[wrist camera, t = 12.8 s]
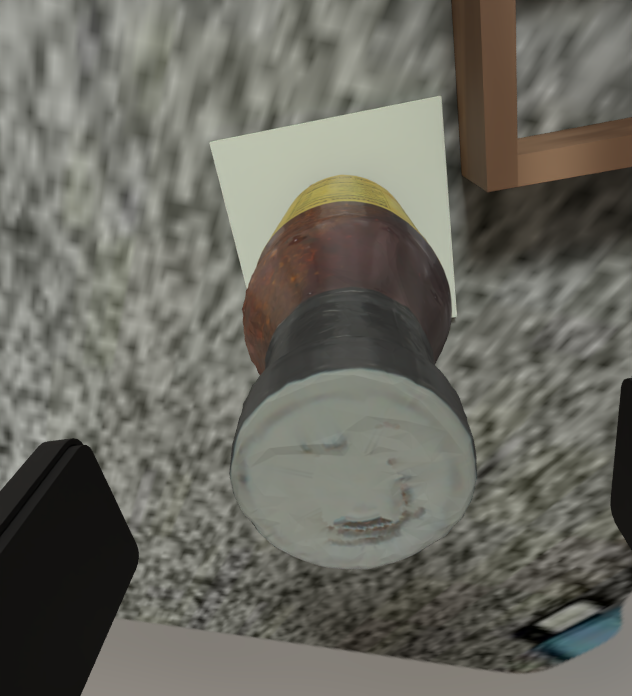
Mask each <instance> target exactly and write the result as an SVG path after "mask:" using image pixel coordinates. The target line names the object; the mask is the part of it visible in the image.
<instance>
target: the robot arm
mask: <svg viewBox="0 0 632 696" xmlns="http://www.w3.org/2000/svg"><path fill="white" fill-rule="evenodd" d="M611 512H612V515H613V518H614V521H615V523H616V525H617V527H618V529H619V530H620V532H621V533H622V535H623V537H624V538H625V540H626V542H627V543H628V545H629V547H630V548H631V550H632V378H627V379H625V380H624V381H623V382H622V386H621V394H620V405H619V416H618V426H617V437H616V448H615V458H614V469H613V480H612V490H611ZM138 559H139V552H138V547H137V544H136V542H135V540H134V538H133V536H132V534H131V532H130V529H129V527H128V525H127V523H126V521H125V519H124V517H123V515H122V513H121V510H120V508H119V506H118V504H117V502H116V500H115V498H114V496H113V494H112V491H111V489H110V487H109V485H108V483H107V481H106V479H105V477H104V475H103V472H102V470H101V468H100V466H99V464H98V462H97V460H96V458H95V456H94V453H93V451H92V450H91V448H90V447H89V446H87V445H83V444H82V442H81V441H79V440H78V439H74V438H72V439H64V440H56V441H48V442H44V443H42V444H41V445H40V446H38V448H37V449H36V450H35V451H34V452H33V453H32V455H31V456H30V457H29V458H28V459H27V460H26V462H25V463H24V464H23V465H22V466H21V468H20V469H19V470H18V471H17V472H16V473H15V475H14V476H13V477H12V478H11V479H10V480H9V482H8V483H7V484H6V485H5V486H4V487H3V489H2V490H1V491H0V696H80V695H81V693H82V691H83V689H84V686H85V684H86V682H87V680H88V677H89V675H90V673H91V670H92V668H93V666H94V664H95V661H96V659H97V657H98V654H99V652H100V650H101V647H102V645H103V643H104V640H105V638H106V636H107V634H108V632H109V629H110V627H111V625H112V622H113V620H114V618H115V616H116V613H117V611H118V609H119V606H120V604H121V602H122V600H123V597H124V595H125V593H126V591H127V588H128V586H129V584H130V581H131V579H132V577H133V575H134V572H135V570H136V568H137V565H138Z"/></svg>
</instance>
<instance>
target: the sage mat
mask: <svg viewBox="0 0 632 696" xmlns="http://www.w3.org/2000/svg"><path fill="white" fill-rule="evenodd" d="M209 143H210V147H211V151H212V154H213V158H214V162H215V166H216V170H217V174H218V178H219V182H220V186H221V190H222V194H223V197H224V201H225V205H226V209H227V213H228V217H229V221H230V225H231V229H232V233H233V237H234V241H235V244H236V248H237V252H238V256H239V260H240V264H241V268H242V272H243V276H244V280H245V284H246V287H247V288H248V284H249V282H250V279H251V276H252V274H253V273H254V271H255V268H256V267H257V262H258V260H259V258H260V255H261V253H262V251H263V249H264V247H265V246H266V244H267V243H268V241H269V239H270V238H271V236H272V234H273V233H274V231H275V229H276V228H277V226H278V225H279V223H280V222H281V220H282V218H283V217H284V215H285V214H286V212H287V210H288V209H289V207H290V206H291V204H292V203H293V202H294V200H295V199H296V198H297V197H298V196H299V195H300V194H301V193H302V192H303V191H304V190H305V189H307V188H308V187H309V186H310V185H312V184H314V183H316V182H318V181H320V180H323V179H326V178H329V177H333V176H337V175H352V176H358V177H362V178H365V179H368V180H371V181H373V182H375V183H377V184H378V185H380V186H382V187H383V188H385V189H386V190H387V191H389V192H390V193H391V194H392V195H393V196H394V198H395V199H396V200H397V201H398V203H399V204H400V205H401V207H402V208H403V210H404V211H405V213H406V214H407V215H408V217H409V218H410V220H411V221H412V222H413V224H414V225H415V227H416V228H417V229H418V231H419V232H420V233H421V235H422V236H423V237H424V238H425V239H426V240H427V242H428V243H429V245H430V246H431V247H432V249H433V250H434V252H435V254H436V256H437V257H438V259H439V261H440V263H441V265H442V267H443V269H444V271H445V274H446V277H447V280H448V283H449V287H450V293H451V300H452V317H457V312H456V298H455V284H454V270H453V256H452V242H451V227H450V213H449V199H448V185H447V171H446V157H445V143H444V129H443V115H442V101H441V96H436V97H431V98H426V99H421V100H416V101H411V102H406V103H401V104H396V105H391V106H386V107H381V108H376V109H371V110H366V111H361V112H356V113H351V114H346V115H341V116H336V117H331V118H326V119H321V120H316V121H311V122H306V123H302V124H297V125H292V126H287V127H282V128H277V129H272V130H267V131H262V132H257V133H252V134H247V135H242V136H237V137H232V138H227V139H222V140H217V141H212V142H209Z"/></svg>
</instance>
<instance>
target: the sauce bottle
mask: <svg viewBox="0 0 632 696" xmlns="http://www.w3.org/2000/svg"><path fill="white" fill-rule="evenodd" d="M242 310H243V325H244V334H245V342H246V346H247V348H248V352H249V355H250V358H251V361H252V362H253V363H254V364H255V366H256V368H257V371H258V373H259V374H260V376H259V378H258V379H257V381H256V382H255V383H254V384H253V385H252V387H251V390H250V392H249V395H248V396H247V398H246V400H245V402H244V403H243V409H242V413H241V416H240V418H239V422H238V426H237V429H236V433H235V437H234V441H233V444H232V453H231V463H230V473H229V474H230V479H231V484H232V489H233V493H234V495H235V498H236V500H237V503H238V505H239V507H240V509H241V510H242V512H243V514H244V515H245V516H246V517H247V518H248V519H249V520H250V521H251V522H252V523H253V525H254V526H255V528H256V529H257V530H258V532H259V533H260V534H261V535H262V536H263V537H265V538H266V539H267V540H268V541H269V542H270V543H271V544H272V545H273V546H274V547H276V548H278V549H280V550H282V551H284V552H285V553H287V554H289V555H291V556H293V557H296V558H298V559H301V560H304V561H306V562H309V563H312V564H315V565H318V566H321V567H329V568H339V569H371V568H376V567H380V566H383V565H387V564H391V563H394V562H397V561H400V560H402V559H405V558H407V557H410V556H412V555H414V554H416V553H418V552H420V551H421V550H423V549H425V548H426V547H428V546H429V545H431V544H432V543H434V542H436V541H438V540H439V539H441V538H443V537H445V536H446V535H447V533H448V532H449V531H450V530H451V529H452V527H453V526H454V525H455V524H456V523H458V522H459V521H460V520H461V519H462V518H463V516H464V514H465V512H466V509H467V508H468V506H469V504H470V502H471V500H472V497H473V493H474V489H475V483H476V479H477V468H476V451H475V445H474V440H473V436H472V433H471V430H470V427H469V425H468V422H467V417H466V415H465V412H464V410H463V407H462V404H461V401H460V398H459V396H458V394H457V393H456V391H455V390H454V389H453V388H452V386H451V385H450V383H449V381H448V380H447V378H446V377H445V376H444V375H443V373H442V372H441V371H440V370H439V369H438V368H437V367H436V366H435V363H436V361H437V359H438V357H439V355H440V354H441V352H442V349H443V347H444V344H445V342H446V340H447V337H448V333H449V330H450V325H451V319H452V300H451V293H450V287H449V283H448V280H447V277H446V274H445V271H444V269H443V267H442V265H441V263H440V261H439V259H438V257H437V256H436V254H435V252H434V250H433V249H432V247H431V246H430V245H429V243H428V242H427V240H426V239H425V238H424V237H423V236H422V235H421V233H420V232H419V231H418V229H417V228H416V227H415V225H414V224H413V222H412V221H411V220H410V218H409V217H408V215H407V214H406V213H405V211H404V210H403V208H402V207H401V205H400V204H399V203H398V201H397V200H396V199H395V198H394V196H393V195H392V194H391V193H390V192H389V191H387V190H386V189H385V188H383V187H382V186H380V185H378V184H377V183H375V182H373V181H371V180H368V179H365V178H362V177H358V176H352V175H337V176H333V177H329V178H326V179H323V180H320V181H318V182H316V183H314V184H312V185H310V186H309V187H308V188H307V189H305V190H304V191H303V192H302V193H301V194H300V195H299V196H298V197H297V198H296V199H295V200H294V202H293V203H292V204H291V206H290V207H289V209H288V210H287V212H286V214H285V215H284V217H283V218H282V220H281V222H280V223H279V225H278V226H277V228H276V229H275V231H274V233H273V234H272V236H271V238H270V239H269V241H268V243H267V244H266V246H265V247H264V249H263V251H262V253H261V255H260V258H259V260H258V262H257V267H256V268H255V271H254V273H253V274H252V276H251V279H250V282H249V284H248V288H247V290H246V297H245V301H244V304H243V308H242Z"/></svg>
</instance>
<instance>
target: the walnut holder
mask: <svg viewBox="0 0 632 696" xmlns="http://www.w3.org/2000/svg"><path fill="white" fill-rule="evenodd" d="M451 2H452V19H453V36H454V53H455V70H456V86H457V103H458V120H459V137H460V154H461V171H462V176H464V177H465V178H467V179H468V180H470V181H471V182H473V183H474V184H476V185H477V186H479V187H480V188H482V189H483V190H485V191H486V192H491V191H497V190H502V189H508V188H514V187H520V186H525V185H531V184H537V183H542V182H548V181H554V180H559V179H565V178H571V177H576V176H582V175H588V174H593V173H599V172H605V171H611V170H616V169H622V168H628V167H632V117H631V118H625V119H620V120H615V121H609V122H604V123H599V124H593V125H588V126H583V127H577V128H572V129H566V130H561V131H556V132H550V133H545V134H540V135H534V136H529V137H524V138H518V139H517V79H516V6H515V0H451Z"/></svg>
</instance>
